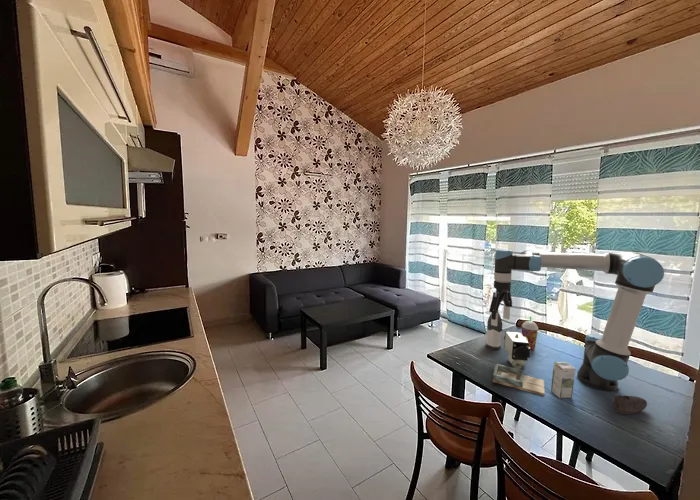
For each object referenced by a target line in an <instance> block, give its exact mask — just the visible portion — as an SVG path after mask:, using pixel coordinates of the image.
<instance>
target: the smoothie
mask: <svg viewBox="0 0 700 500" xmlns="http://www.w3.org/2000/svg"><path fill="white" fill-rule="evenodd" d="M538 332H539V327H538V325H537V324H536V322H534V321H532V316H529V320H526V321H523V323H522V325H521V335H522V336H523V337H526V339H528V343H529V348H530V349H531V351H534V350H535V348H536V344H537V337H538ZM531 351H530V352H531Z"/></svg>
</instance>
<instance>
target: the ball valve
mask: <svg viewBox="0 0 700 500" xmlns="http://www.w3.org/2000/svg"><path fill="white" fill-rule="evenodd" d="M503 340H504V343H503V344H504V345H503V346H504V349H505V351H506V352H507V353H508V356H507V359H508V361H509V363H510V364H511V367H512V368H516V369H520V370H521V368H522V367H525V366H526V365H527V363H526V361H527V362H528V359H530V358H531V349H530V348H529V343H528V339H526V337H523V336H522V332H519V331H507V330H505V333H504V338H503Z"/></svg>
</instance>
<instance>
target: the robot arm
mask: <svg viewBox="0 0 700 500" xmlns="http://www.w3.org/2000/svg"><path fill="white" fill-rule="evenodd" d="M494 253H495V255H494V271H493V279H494V281H493V288H494V289H496V291H493V292H492V298H491V302H490V306H489V310H488V311H489V313H490V315H491V325H493V326H497V322H498V313H499V309H500V305H501V303H502V302H503V304H504V306H503V317H502V318H503V319H506V320H510V319H511V318H510V315H511V313H510V312H511V308H513V298H512V294H511V289H512V288H511V287H512V282H511V281H512V272H513V271H512V270H514V271H525V272H526V271H528V272H540V271H541V270H542V268H547V269H549V268H551V269H566V270H580V271H582V270H583V271H597V272H604V273H605V274H607V275H608V274H609V275H615V276H616V279H615V282H614V284H615V285H616V286H617V291H616V294H615V296H614V299H613V303H612V307H611V309H610V312H609V315H608V317H607V320H606V324H605V327H604V330H603V333H602V334H596V333H595V334H594V333H589V334H587V335H585V336H586V337H585V339H584V341H585V342H584V352H583V361H582V363H581V365H580V367H579V369H578V370H577V372H576V373H577V374H576V378H577V380H578V381H579V382H581V383H582V384H583V385H586V386H588V387H589V388H593V389H596V390H599V391H603V392H615V391H617V390H618V387H619V382H618V381H621V380H624V379H625V378H627V377H628V376H629V374H630V373H629V372H630V368H629V367H630V366H629V365H628V362H629V359H630V356H631V354H632V353H631V351H630V350H629V348H628V347H629V344H630V342H631V338H632V335H633V334H634V330H635V327H636V325H637V321H638V319H639V316H640V313H641V310H642V308H643V304H644V301H645V299H646V296H647V295H649V294H652V293H653V292H654V290H655V287H656V286H657V285H658V284H660V283H661V282H662V281H663V279H664V276H665V270H664V267H663V265H662V264H661V263H660V262H659V261H658V260H656V259H655V258H653V257H651V256H648V255H644V254H643V253H639V252H605V253H604V254H597V253H596V254H592V253H590V254H589V253H574V252H573V253H568V252H547V251H546V252H545V251H532V250H524V251H522V252H520V253H519V254H515V253H514V252H513V250H512V249H503V248H502V249H500V248H499V249H497V250H495V252H494ZM497 311H498V313H497ZM491 313H492V314H491Z"/></svg>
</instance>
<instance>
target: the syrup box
mask: <svg viewBox="0 0 700 500" xmlns="http://www.w3.org/2000/svg"><path fill="white" fill-rule="evenodd" d="M575 375H576V367H574V366H573V365H572V364H570V363H568V362H567V361H554V362H553V369H552V378H551V386H550V387H551V388H550V391H551V392H552V393H553V394H554V395H555V396H556V397H557V398H559V399H572V398H573V392H574V384H575V378H576V376H575Z"/></svg>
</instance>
